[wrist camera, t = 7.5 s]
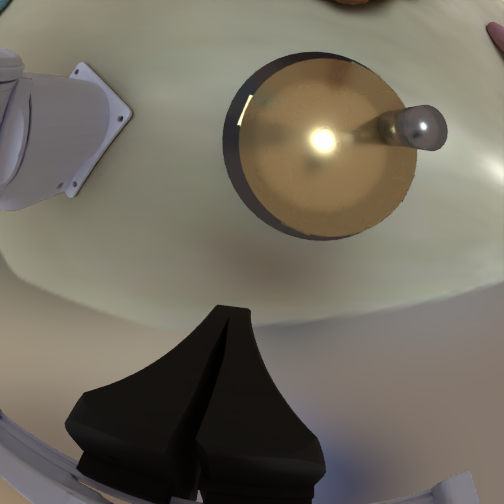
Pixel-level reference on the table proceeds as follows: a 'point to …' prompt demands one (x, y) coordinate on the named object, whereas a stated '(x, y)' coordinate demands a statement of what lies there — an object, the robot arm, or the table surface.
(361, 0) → the pastry
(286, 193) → the round lid with handle
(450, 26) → the table surface
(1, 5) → the sugar bowl
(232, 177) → the base plate
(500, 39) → the video game controller
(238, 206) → the table surface
